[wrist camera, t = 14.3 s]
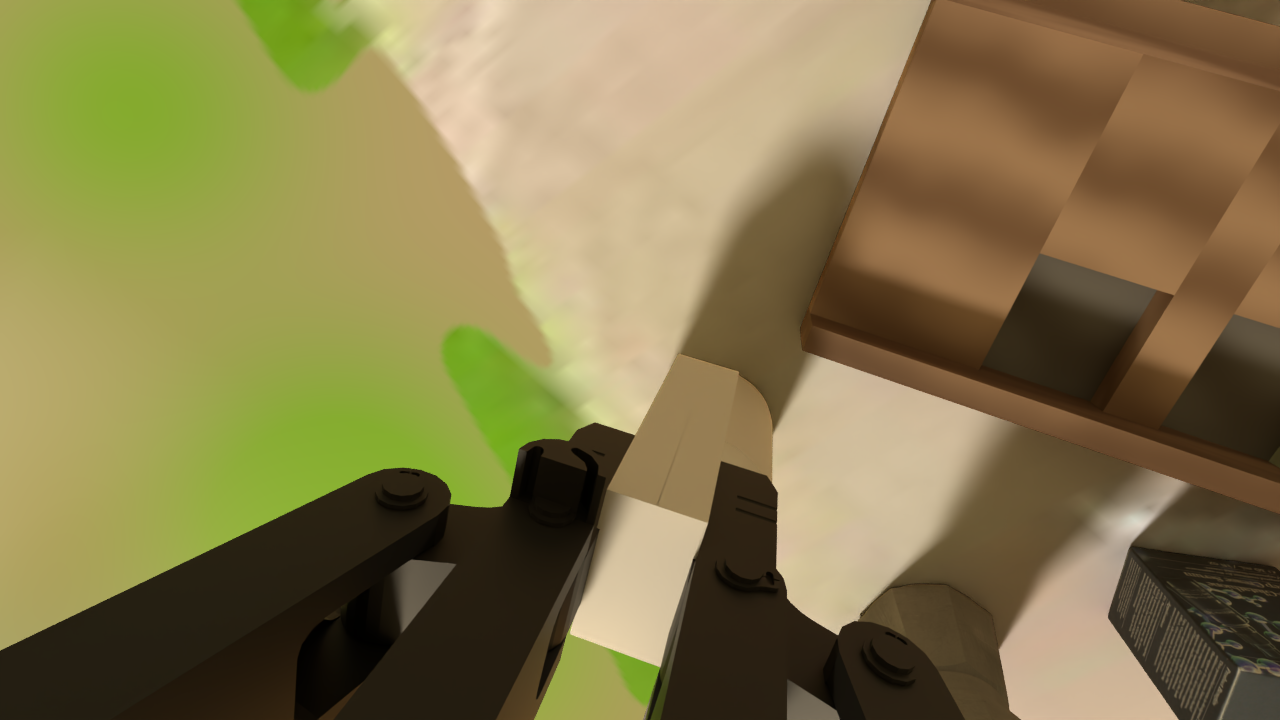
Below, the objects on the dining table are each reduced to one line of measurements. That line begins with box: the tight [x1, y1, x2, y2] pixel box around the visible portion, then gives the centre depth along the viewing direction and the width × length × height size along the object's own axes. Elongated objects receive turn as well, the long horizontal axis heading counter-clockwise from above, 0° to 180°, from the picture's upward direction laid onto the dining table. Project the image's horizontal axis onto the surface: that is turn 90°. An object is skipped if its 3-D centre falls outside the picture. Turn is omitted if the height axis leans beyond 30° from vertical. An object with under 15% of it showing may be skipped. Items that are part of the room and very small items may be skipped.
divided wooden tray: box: [800, 0, 1280, 514], centre depth 32 cm, size 20×34×5 cm, turn 74°
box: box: [1108, 547, 1280, 720], centre depth 34 cm, size 8×6×11 cm
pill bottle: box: [721, 375, 773, 483], centre depth 36 cm, size 8×8×15 cm
